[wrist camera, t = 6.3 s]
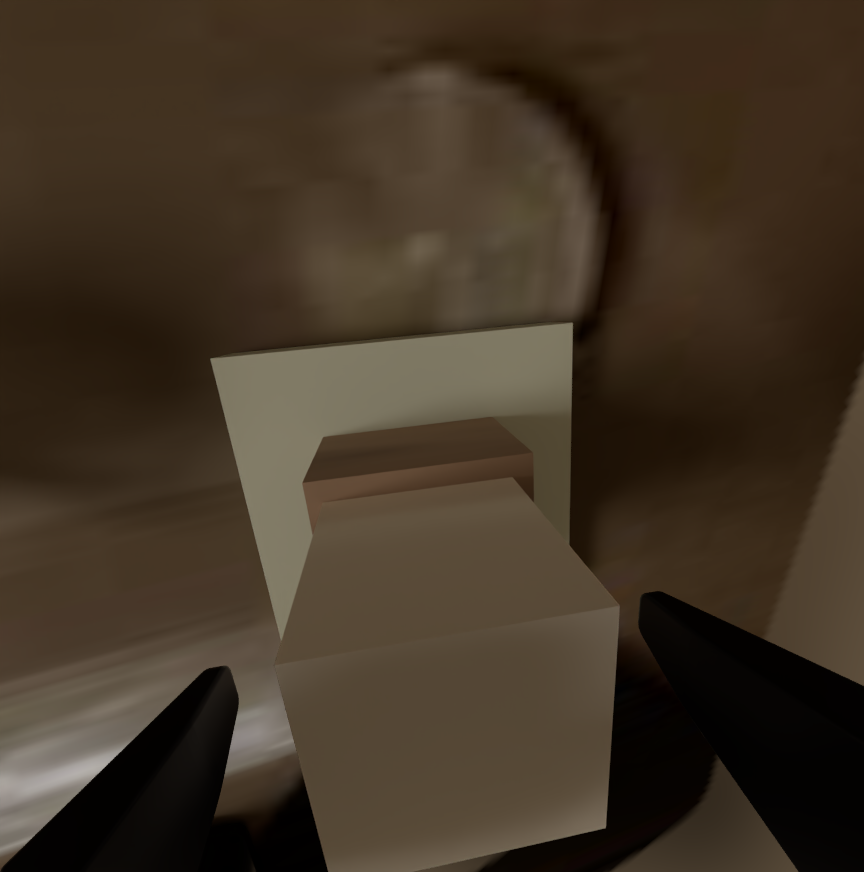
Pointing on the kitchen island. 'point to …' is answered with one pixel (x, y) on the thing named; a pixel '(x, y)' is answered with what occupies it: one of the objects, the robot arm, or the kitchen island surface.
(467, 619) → the ceramic cube
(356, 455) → the walnut block
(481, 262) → the kitchen island surface
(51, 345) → the kitchen island surface
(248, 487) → the base board
